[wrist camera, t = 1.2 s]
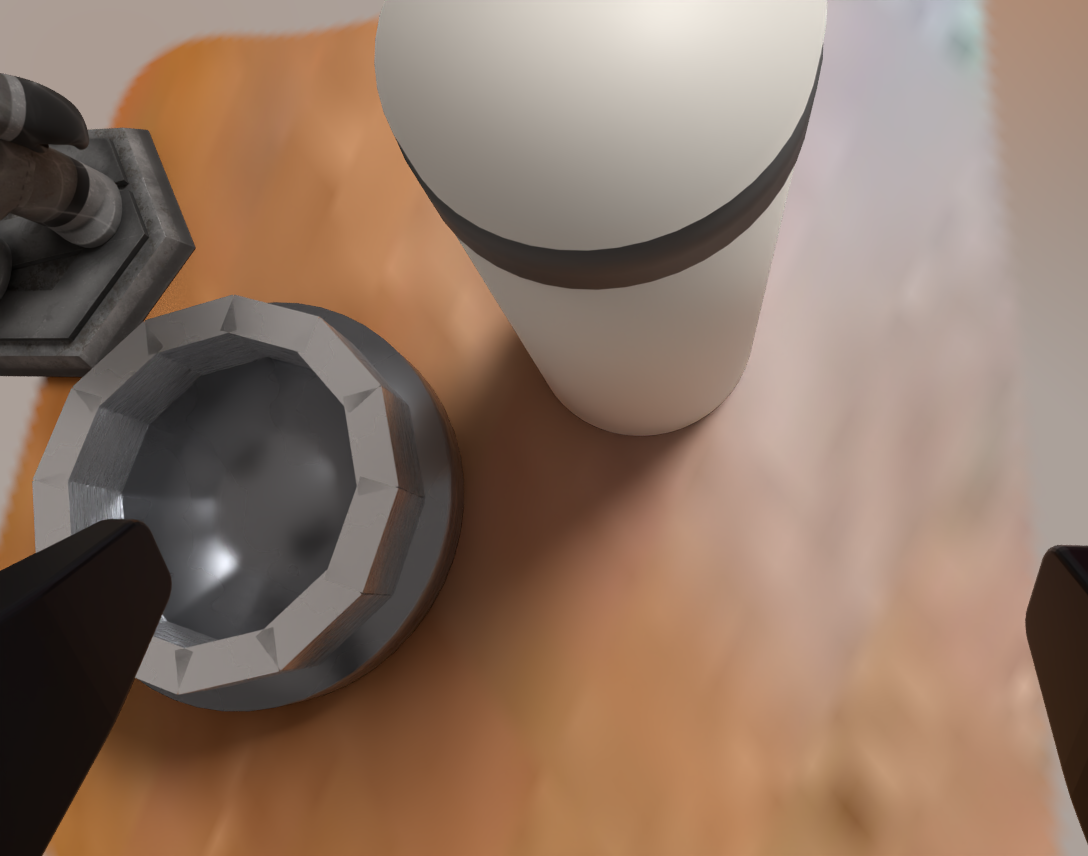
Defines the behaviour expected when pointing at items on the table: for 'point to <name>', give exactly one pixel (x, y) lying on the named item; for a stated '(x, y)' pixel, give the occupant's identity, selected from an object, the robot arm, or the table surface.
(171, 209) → the figurine
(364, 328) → the mount
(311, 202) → the table surface
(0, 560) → the table surface
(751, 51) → the white domed cylinder
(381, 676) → the table surface
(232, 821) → the table surface
